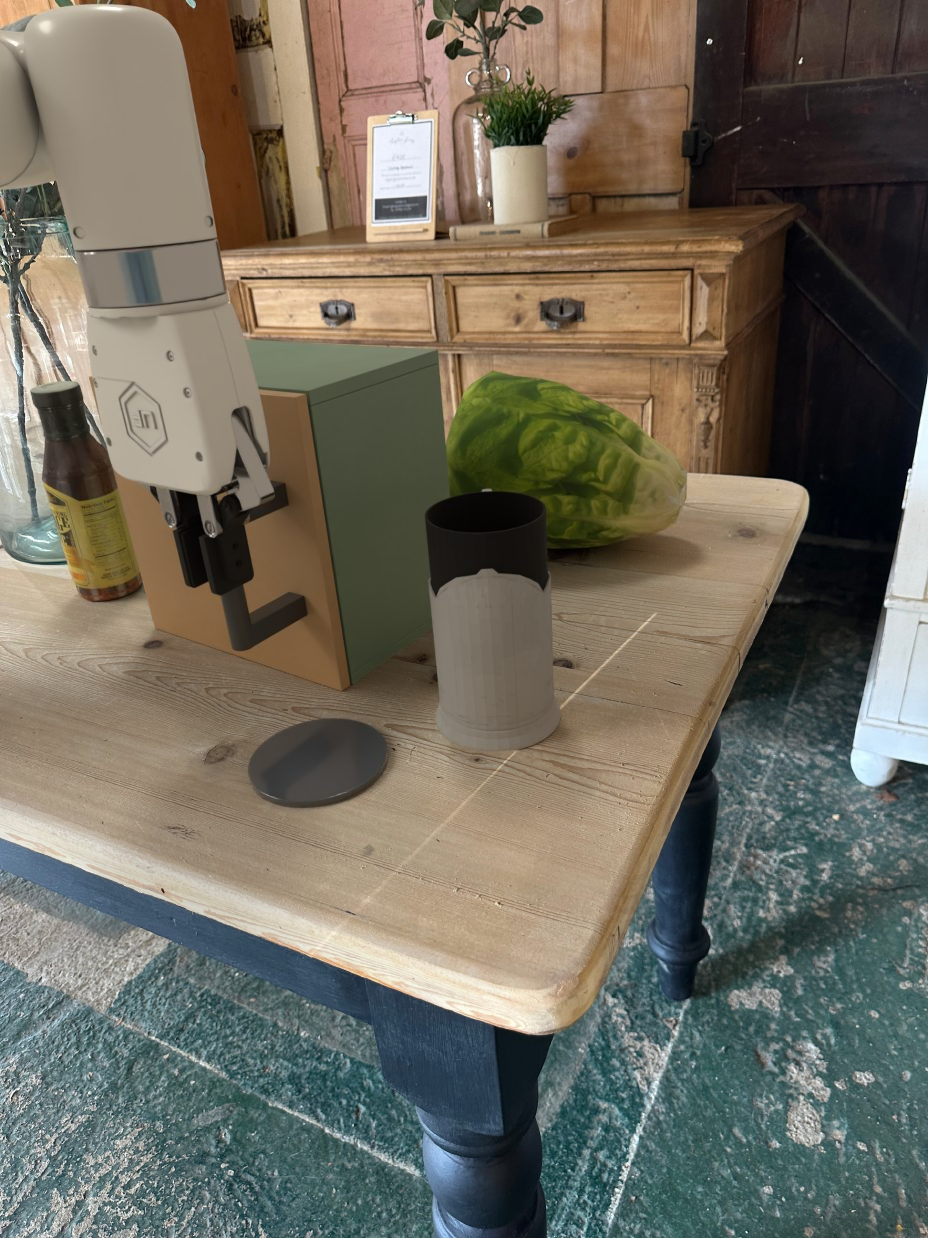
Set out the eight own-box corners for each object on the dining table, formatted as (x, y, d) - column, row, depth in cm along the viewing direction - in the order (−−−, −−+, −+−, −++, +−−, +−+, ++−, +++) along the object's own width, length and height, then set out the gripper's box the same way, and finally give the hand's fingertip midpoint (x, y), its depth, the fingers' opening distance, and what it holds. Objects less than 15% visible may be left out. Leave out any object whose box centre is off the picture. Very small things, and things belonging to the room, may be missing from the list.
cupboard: (353, 685, 65) (308, 390, 55) (166, 623, 76) (101, 371, 66) (459, 610, 75) (438, 349, 65) (280, 565, 86) (238, 338, 76)
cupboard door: (280, 735, 59) (217, 421, 49) (91, 660, 71) (10, 395, 61) (350, 685, 64) (306, 393, 55) (163, 623, 76) (99, 373, 66)
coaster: (246, 820, 52) (244, 812, 51) (252, 736, 60) (250, 729, 59) (395, 795, 53) (394, 787, 53) (381, 716, 61) (380, 709, 60)
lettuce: (659, 607, 86) (683, 536, 71) (436, 559, 90) (413, 482, 75) (690, 465, 91) (718, 370, 76) (477, 426, 96) (464, 328, 80)
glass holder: (431, 755, 56) (408, 541, 49) (441, 649, 69) (425, 467, 62) (566, 749, 56) (561, 532, 49) (551, 643, 68) (546, 459, 62)
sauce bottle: (78, 585, 86) (17, 382, 76) (143, 572, 87) (91, 373, 78) (77, 611, 80) (11, 396, 71) (147, 597, 82) (91, 385, 73)
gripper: (14, 289, 49) (98, 582, 57) (195, 291, 41) (263, 634, 49) (125, 273, 54) (187, 543, 63) (305, 272, 46) (350, 584, 54)
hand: (220, 581), depth 56 cm, fingers closed on cupboard door
